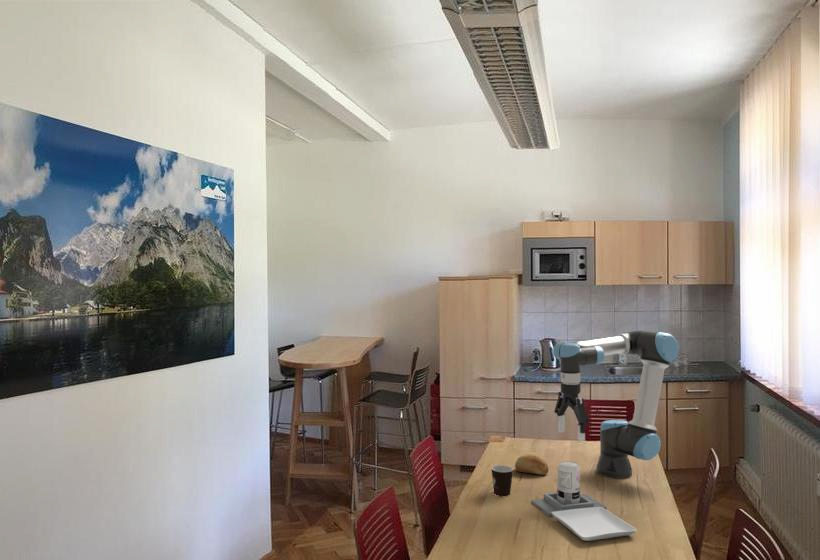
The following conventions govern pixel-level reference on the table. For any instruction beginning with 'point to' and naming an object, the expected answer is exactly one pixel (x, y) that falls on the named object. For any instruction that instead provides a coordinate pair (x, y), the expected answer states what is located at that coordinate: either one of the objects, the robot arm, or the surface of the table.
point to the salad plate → (593, 523)
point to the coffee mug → (502, 479)
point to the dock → (552, 505)
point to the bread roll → (531, 464)
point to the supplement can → (568, 483)
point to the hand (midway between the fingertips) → (571, 436)
